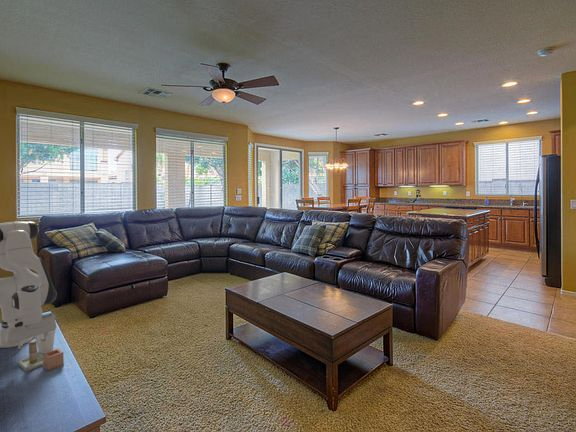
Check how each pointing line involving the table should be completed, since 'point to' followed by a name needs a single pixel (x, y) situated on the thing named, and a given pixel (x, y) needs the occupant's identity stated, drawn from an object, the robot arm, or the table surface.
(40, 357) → the tray
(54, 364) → the brown hollow block
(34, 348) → the dowel
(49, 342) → the foam cup
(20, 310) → the robot arm
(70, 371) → the table surface
